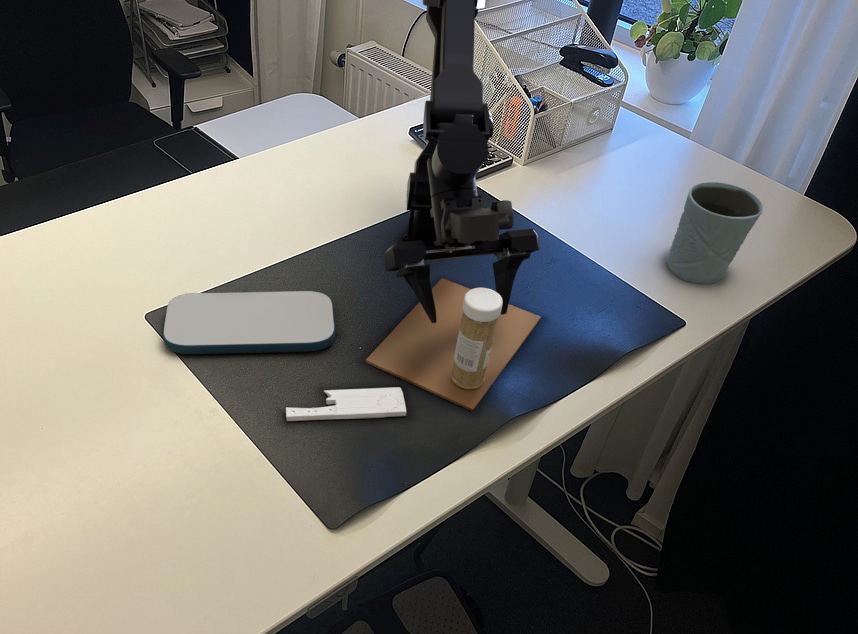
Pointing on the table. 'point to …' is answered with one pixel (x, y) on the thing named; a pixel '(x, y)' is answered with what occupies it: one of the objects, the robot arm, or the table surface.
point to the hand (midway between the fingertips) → (469, 318)
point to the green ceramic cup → (712, 231)
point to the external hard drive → (249, 322)
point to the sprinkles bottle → (475, 337)
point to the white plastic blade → (354, 405)
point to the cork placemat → (448, 346)
